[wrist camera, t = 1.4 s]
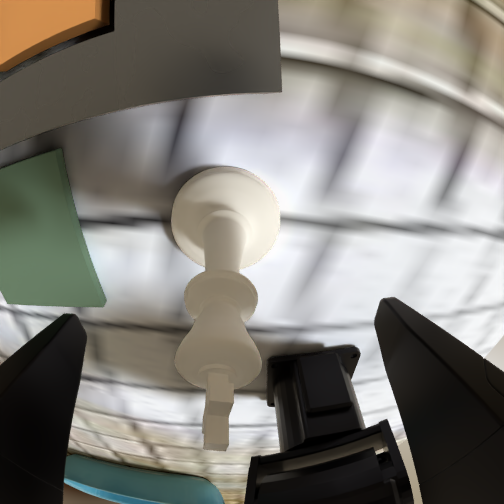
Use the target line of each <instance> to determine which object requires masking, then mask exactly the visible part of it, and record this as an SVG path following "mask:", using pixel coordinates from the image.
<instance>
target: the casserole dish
mask: <svg viewBox="0 0 504 504" xmlns="http://www.w3.org/2000/svg"><path fill="white" fill-rule="evenodd" d="M64 483H66V484H68V485H70V486H72V487H74V488H77V489H79V490H81V491H84V492H86V493H88V494H91V495H94V496H97V497H100V498H103V499H106V500H110V501H113V502H118V503H121V504H225V503H224V500H223V498H222V495H221V493H220V492H219V490H218V489H217V488H216V486H215V485H213V484H212V483H210V482H209V481H208V480H206V479H204V478H200V477H194V476H187V475H179V474H171V473H164V472H157V471H151V470H145V469H139V468H134V467H128V466H124V465H119V464H115V463H110V462H106V461H102V460H97V459H93V458H90V457H86V456H82V455H77V454H73V455H69V456H67V457H66V466H65V476H64Z"/></svg>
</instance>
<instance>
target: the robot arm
mask: <svg viewBox="0 0 504 504" xmlns="http://www.w3.org/2000/svg"><path fill="white" fill-rule="evenodd" d="M374 325H375V330H376V334H377V337H378V341H379V345H380V349H381V354H382V358H383V362H384V366H385V370H386V373H387V376H388V379H389V382H390V385H391V388H392V391H393V394H394V397H395V400H396V403H397V406H398V409H399V412H400V416H401V419H402V422H403V426H404V429H405V432H406V436H407V439H408V443H409V446H410V450H411V454H412V458H413V462H414V466H415V469H416V474H417V477H418V482H419V484H420V485H419V487H420V492H421V497H422V501H423V504H504V372H503V371H502V370H500V369H499V368H497V367H496V366H495V365H493V364H492V363H490V362H489V361H488V360H486V359H485V358H484V359H483V357H482V356H481V355H479V354H478V353H476V352H475V351H474V350H472V349H471V348H469V347H468V346H467V345H465V344H464V343H462V342H461V341H459V340H458V339H457V338H455V337H454V336H452V335H451V334H449V333H448V332H446V331H445V330H443V329H442V328H441V327H439V326H438V325H436V324H435V323H433V322H432V321H430V320H429V319H427V318H426V317H424V316H423V315H421V314H420V313H418V312H417V311H415V310H414V309H412V308H411V307H409V306H408V305H406V304H405V303H403V302H402V301H400V300H398V299H397V298H395V297H389V298H383V299H381V301H380V303H379V306H378V310H377V313H376V316H375V320H374ZM86 342H87V335H86V332H85V330H84V328H83V326H82V324H81V322H80V320H79V318H78V317H77V316H76V315H75V314H68V313H66V314H63V315H62V316H60V317H59V318H58V319H56V320H55V321H54V322H52V323H51V324H50V325H49V326H47V327H46V328H45V329H43V330H42V331H41V332H40V333H38V334H37V335H36V336H35V337H33V338H32V339H31V340H30V341H28V342H27V343H26V344H25V345H24V346H22V347H21V348H20V349H19V350H17V351H16V352H15V353H14V354H13V355H11V356H10V357H9V358H8V359H7V360H6V361H4V362H3V363H2V364H1V365H0V504H63V488H64V476H65V466H66V457H67V450H68V443H69V436H70V430H71V424H72V419H73V413H74V408H75V403H76V398H77V394H78V389H79V385H80V379H81V373H82V366H83V360H84V354H85V348H86ZM360 354H361V353H360V351H359V349H358V348H357V347H352V348H346V349H339V350H332V351H325V352H317V353H309V354H300V355H290V356H280V357H272V358H269V359H268V360H267V405H268V406H269V407H275V410H276V418H277V427H278V435H279V444H280V453H276V454H271V455H265V456H260V455H258V456H252V457H251V462H250V467H249V472H248V479H247V487H246V494H245V502H244V504H414V499H413V494H412V489H411V485H410V481H409V477H408V474H407V471H406V468H405V466H404V462H403V460H402V457H401V454H400V451H399V449H398V446H397V443H396V441H395V438H394V435H393V433H392V430H391V428H390V425H389V422H388V420H387V419H385V420H383V421H380V422H379V424H376V425H374V426H371V427H368V428H366V427H365V424H364V420H363V417H362V414H361V410H360V407H359V404H358V401H357V398H356V394H355V391H354V388H353V385H352V382H351V379H352V376H353V373H354V371H355V368H356V366H357V363H358V360H359V358H360ZM382 448H383V450H384V452H383V453H380V454H377V455H376V453H375V451H377V450H379V449H382Z"/></svg>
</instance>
